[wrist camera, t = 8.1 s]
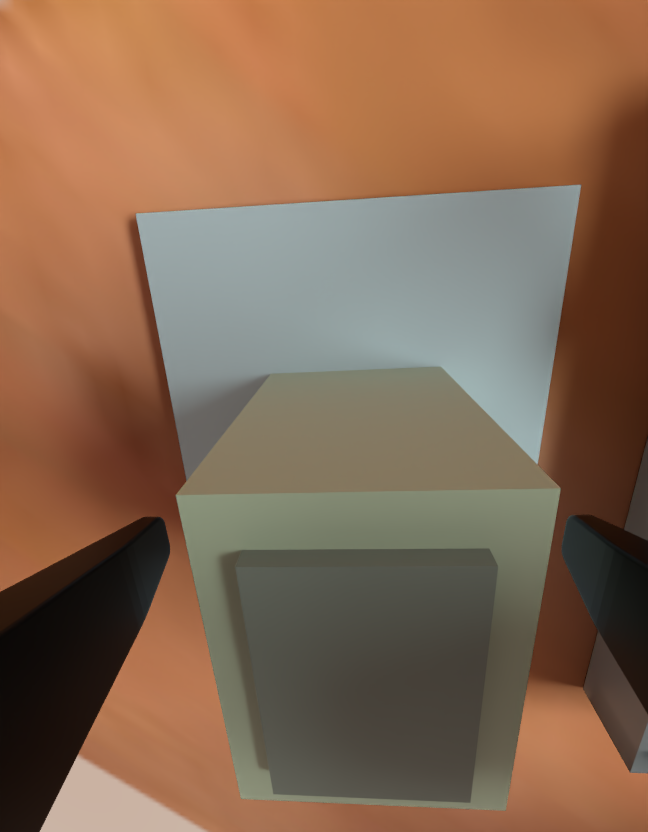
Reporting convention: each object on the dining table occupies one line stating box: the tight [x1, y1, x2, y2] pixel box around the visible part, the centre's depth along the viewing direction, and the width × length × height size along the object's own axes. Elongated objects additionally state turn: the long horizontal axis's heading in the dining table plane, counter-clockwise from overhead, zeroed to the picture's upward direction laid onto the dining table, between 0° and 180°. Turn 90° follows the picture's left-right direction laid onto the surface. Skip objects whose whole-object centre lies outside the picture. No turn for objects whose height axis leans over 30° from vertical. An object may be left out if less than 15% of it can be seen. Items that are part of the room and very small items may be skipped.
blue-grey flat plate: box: [136, 185, 581, 481], centre depth 11 cm, size 14×10×1 cm
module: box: [176, 367, 561, 811], centre depth 8 cm, size 6×4×6 cm
